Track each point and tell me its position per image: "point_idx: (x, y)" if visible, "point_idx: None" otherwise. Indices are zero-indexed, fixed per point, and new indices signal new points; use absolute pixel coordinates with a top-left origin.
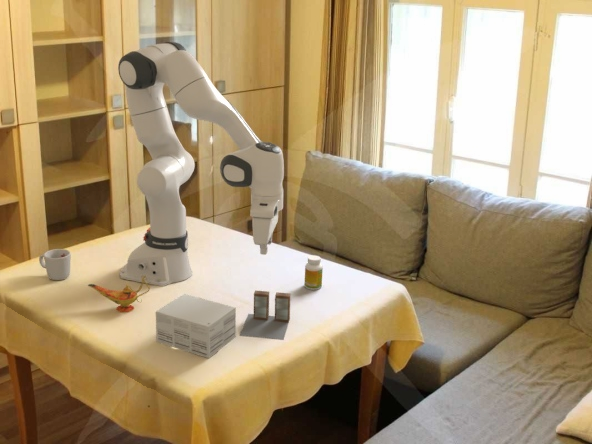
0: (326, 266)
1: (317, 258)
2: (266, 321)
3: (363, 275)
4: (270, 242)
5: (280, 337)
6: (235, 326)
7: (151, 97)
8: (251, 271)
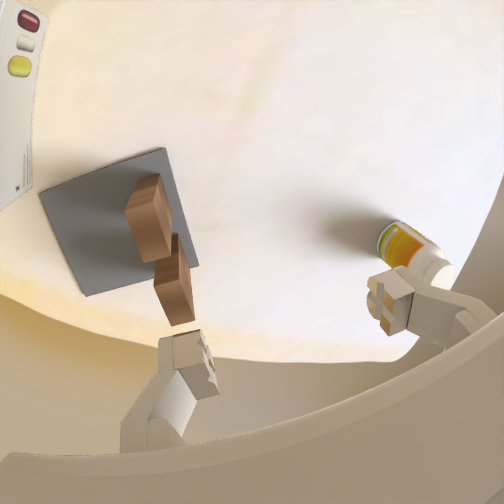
0: (470, 229)
1: None
2: None
3: None
4: (374, 315)
5: (89, 287)
6: (15, 199)
7: None
8: (433, 68)
